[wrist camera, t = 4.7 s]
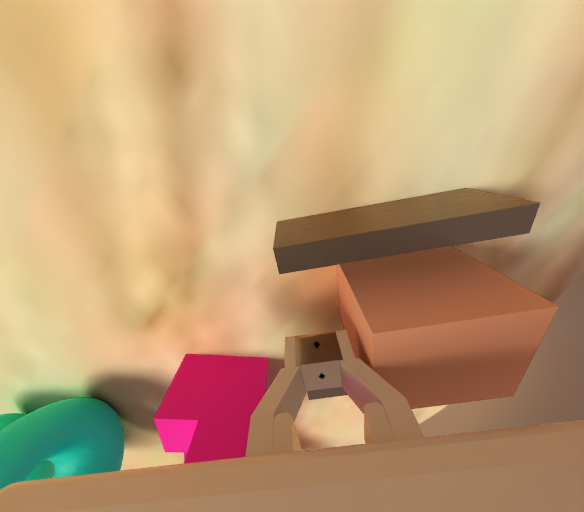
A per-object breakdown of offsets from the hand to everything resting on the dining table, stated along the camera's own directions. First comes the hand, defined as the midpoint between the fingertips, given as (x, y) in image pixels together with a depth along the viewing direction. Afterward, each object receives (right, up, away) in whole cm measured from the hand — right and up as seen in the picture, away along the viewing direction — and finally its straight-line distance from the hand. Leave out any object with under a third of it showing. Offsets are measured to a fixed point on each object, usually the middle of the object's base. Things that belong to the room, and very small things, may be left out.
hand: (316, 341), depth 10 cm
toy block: (-7, -10, +9) cm, 15 cm away
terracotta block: (+5, +3, +3) cm, 6 cm away
